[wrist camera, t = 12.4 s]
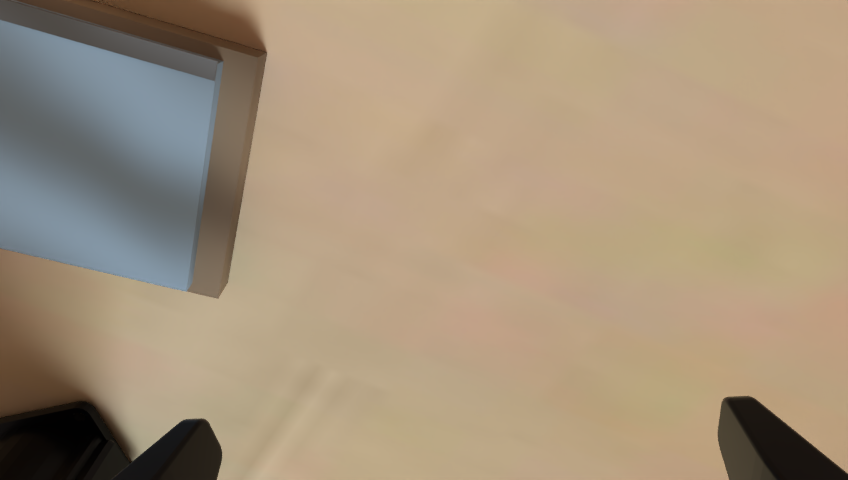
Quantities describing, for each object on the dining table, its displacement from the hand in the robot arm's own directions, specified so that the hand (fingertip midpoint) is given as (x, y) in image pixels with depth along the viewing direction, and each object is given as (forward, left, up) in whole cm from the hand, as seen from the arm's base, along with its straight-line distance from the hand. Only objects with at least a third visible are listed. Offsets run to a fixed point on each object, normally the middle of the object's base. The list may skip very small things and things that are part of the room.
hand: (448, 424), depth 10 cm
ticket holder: (-12, +5, -12) cm, 17 cm away
